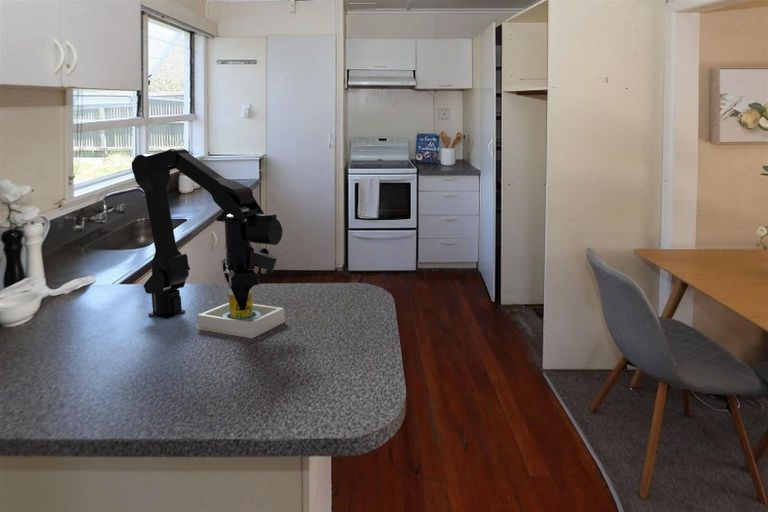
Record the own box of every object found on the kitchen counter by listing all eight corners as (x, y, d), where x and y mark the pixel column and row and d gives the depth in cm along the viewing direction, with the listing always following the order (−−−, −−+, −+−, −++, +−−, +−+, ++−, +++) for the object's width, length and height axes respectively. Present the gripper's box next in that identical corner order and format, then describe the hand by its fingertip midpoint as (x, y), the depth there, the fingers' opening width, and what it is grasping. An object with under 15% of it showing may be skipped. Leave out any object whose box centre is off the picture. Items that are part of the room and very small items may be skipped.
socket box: (198, 329, 152) (197, 314, 151) (233, 314, 163) (232, 300, 163) (252, 338, 146) (251, 323, 145) (284, 322, 157) (283, 308, 156)
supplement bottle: (247, 314, 158) (246, 275, 156) (256, 320, 153) (255, 280, 151) (226, 318, 155) (224, 278, 153) (234, 324, 150) (232, 283, 149)
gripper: (281, 246, 144) (283, 314, 148) (266, 232, 162) (268, 293, 165) (229, 249, 141) (232, 319, 144) (219, 235, 158) (222, 297, 161)
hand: (240, 306), depth 154 cm, fingers closed on supplement bottle, 5 cm apart
